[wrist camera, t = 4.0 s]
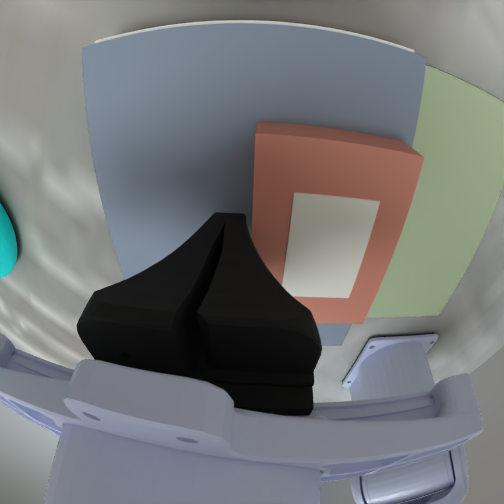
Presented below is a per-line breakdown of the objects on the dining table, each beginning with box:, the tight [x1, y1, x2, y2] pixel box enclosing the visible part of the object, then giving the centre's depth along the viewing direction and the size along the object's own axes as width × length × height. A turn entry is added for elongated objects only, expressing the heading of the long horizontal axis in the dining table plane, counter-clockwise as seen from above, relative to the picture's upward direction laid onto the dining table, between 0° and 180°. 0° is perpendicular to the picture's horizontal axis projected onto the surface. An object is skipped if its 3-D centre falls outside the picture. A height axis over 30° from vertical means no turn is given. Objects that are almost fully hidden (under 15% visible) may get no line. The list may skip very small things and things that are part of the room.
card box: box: [251, 122, 424, 324], centre depth 12 cm, size 9×6×2 cm, turn 178°
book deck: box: [82, 20, 427, 346], centre depth 14 cm, size 18×14×3 cm
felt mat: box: [366, 65, 504, 318], centre depth 15 cm, size 18×9×1 cm, turn 178°
